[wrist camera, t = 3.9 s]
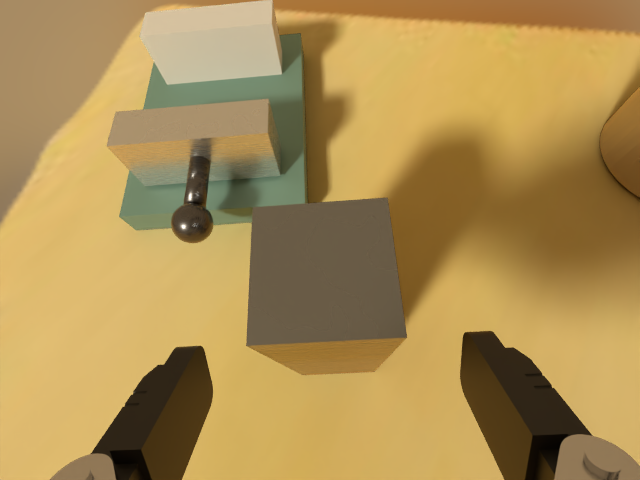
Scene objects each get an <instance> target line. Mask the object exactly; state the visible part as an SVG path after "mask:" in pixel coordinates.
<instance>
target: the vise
mask: <svg viewBox="0 0 640 480" xmlns="http://www.w3.org/2000/svg"><path fill="white" fill-rule="evenodd" d="M139 37H140V38H141V40H142V42H143V44H144V45H145V47H146V49H147V51H148V52H149V54H150V56H151V57H152V59H153V61H154V64H153V68H152V72H151V77H150V81H149V86H148V90H147V95H146V99H145V104H144V108H143V110H144V109H156V108H167V107H179V106H190V105H202V104H213V103H225V102H236V101H247V100H259V99H269V102H270V106H271V109H272V113H273V117H274V121H275V125H276V128H277V132H278V136H279V140H280V143H281V176H271V177H258V178H245V179H232V180H218V181H209V184H208V193H207V202H206V208H207V209H208V210H209V212H210V213H211V215H212V217H213V225H220V224H234V223H248V222H252V212H253V207H264V206H278V205H292V204H306V203H308V192H307V158H306V123H305V89H304V55H303V47H302V40H301V33H298V34H287V35H279V32H278V27H277V21H276V16H275V11H274V5H273V0H265V1H255V2H245V3H235V4H225V5H215V6H205V7H195V8H186V9H176V10H166V11H156V12H146V13H145V16H144V20H143V24H142V28H141V32H140V36H139ZM185 189H186V183H179V184H166V185H153V186H144V185H143V184H142V183H141V182H140V181H139V180H138V179H137V178H136V177H135V175H134V174H133V173H132V172H131V171H129V175H128V180H127V184H126V189H125V193H124V198H123V202H122V207H121V211H120V216H119V217H120V218H121V219H123V220H124V221H125V222H127V223H128V224H129V225H130V226H132V227H133V228H134V229H135V230H148V229H162V228H172V227H171V218H172V215H173V213H174V212H175V210H176V209H177V208H179V207H180V206H182V205H183V204H184V196H185Z"/></svg>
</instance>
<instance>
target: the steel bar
mask: <svg viewBox="0 0 640 480" xmlns="http://www.w3.org/2000/svg"><path fill="white" fill-rule="evenodd" d="M406 338H407V334H406V327H405V320H404V313H403V306H402V298H401V291H400V284H399V277H398V270H397V262H396V255H395V248H394V241H393V233H392V226H391V219H390V212H389V205H388V198H376V199H362V200H348V201H334V202H320V203H306V204H292V205H278V206H264V207H253V212H252V234H251V256H250V278H249V300H248V322H247V344H246V346H248V347H250V348H251V349H253V350H255V351H257V352H259V353H261V354H263V355H265V356H267V357H269V358H271V359H273V360H275V361H276V362H278V363H280V364H282V365H284V366H286V367H288V368H290V369H292V370H294V371H296V372H298V373H300V374H301V375H316V374H337V373H358V372H374V371H375V370H376V369H377V368H378V367H379V366H380V365H381V364H382V363H383V362H384V361H385V360H386V359H387V358H388V357H389V356H390V355H391V354H392V353H393V352H394V351H395V349H396V348H397V347H398V346H399V345H400V344H401V343H402V342H403V341H404V340H405V339H406Z"/></svg>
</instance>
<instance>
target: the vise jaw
mask: <svg viewBox="0 0 640 480" xmlns="http://www.w3.org/2000/svg"><path fill="white" fill-rule="evenodd" d="M107 147H108V148H109V149H110V150H111V151H112V152H113V153H114V155H115V156H116V157H117V158H118V159H119V160H120V161H121V162H122V163H123V164H124V165H125V166H126V167H127V168H128V169H129V170H130V171H131V172H132V173H133V174H134V175H135V177H136V178H137V179H138V180H139V181H140V182H141V183H142V184H143V185H144V186H153V185H166V184H179V183H186V189H185V196H184V204H183V205H182V206H180V207H179V208H177V209H176V210H175V212H174V213H173V215H172V218H171V227H172V230H173V232H174V234H175V235H176V236H177V237H178V238H179V239H180V240H182V241H184V242H187V243H198V242H201V241H203V240H205V239H206V238H207V237H208V236H209V235H210V234H211V232H212V229H213V217H212V215H211V213H210V212H209V210H208V209H207V208H206V202H207V193H208V184H209V181H218V180H232V179H245V178H258V177H271V176H281V143H280V140H279V136H278V132H277V128H276V125H275V121H274V117H273V113H272V109H271V106H270V102H269V99H259V100H247V101H236V102H225V103H213V104H202V105H190V106H179V107H167V108H156V109H144V110H133V111H121V112H116V113H115V117H114V120H113V124H112V128H111V132H110V135H109V139H108V143H107Z"/></svg>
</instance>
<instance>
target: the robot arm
mask: <svg viewBox="0 0 640 480" xmlns="http://www.w3.org/2000/svg"><path fill="white" fill-rule="evenodd" d="M600 149H601V153H602V158H603V160H604V161H605V163H606V165H607V167H608V169H609V171H610V172H611V173H612V174H613V175H614V177H615V178H616V179H617V180H618V181H619V182H620V183H621V184H622V185H623V186H624V187H625V188H627V189H628V190H629V191H630V192H631V193H633V194H635V195H636V196H638V197H639V198H640V87H639V88H638V89H637V90H636V91H635V92H634V93H633V94H632V95H631V96H630V97H629V99H628V100H627V101H626V102H625V103H624V104H623V105H622V106H621V107H620V108H619V109H618V110H617V111H616V112H615V114H614V115H613V116H612V117H611V118H610V119H609V120H608V122H607V123H606V124H605V125H604V127H603V130H602V132H601V135H600ZM460 379H461V385H462V389H463V393H464V395H465V397H466V400H467V402H468V404H469V406H470V408H471V410H472V412H473V414H474V416H475V419H476V421H477V423H478V425H479V427H480V429H481V431H482V433H483V435H484V437H485V440H486V442H487V444H488V446H489V448H490V450H491V452H492V454H493V456H494V458H495V461H496V463H497V465H498V467H499V469H500V471H501V473H502V475H503V477H504V480H640V466H639V465H638V464H637V462H636V461H635V460H634V459H633V458H632V457H631V456H630V455H628V454H627V453H626V452H625V451H623V450H622V449H620V448H619V447H617V446H616V445H614V444H612V443H610V442H608V441H606V440H603V439H601V438H598V437H594V436H592V435H591V433H590V432H589V431H588V430H587V428H586V427H585V426H584V425H583V423H582V422H581V421H580V420H579V419H578V417H577V416H576V415H575V414H574V412H573V411H572V410H571V409H570V407H569V406H568V405H567V404H566V402H565V401H564V400H563V399H562V397H561V396H560V395H559V394H558V393H557V391H556V390H555V389H554V388H552V385H551V384H550V383H549V381H548V380H547V379H546V378H545V376H542V373H541V371H540V370H539V369H538V368H537V367H536V365H535V364H534V363H533V362H532V360H531V359H530V358H528V357H527V356H525V355H524V354H522V353H521V352H519V351H518V350H516V349H515V348H505V347H504V346H503V344H502V343H501V342H500V340H499V339H498V338H497V336H496V335H495V334H494V333H493V332H492V331H480V332H465V333H464V335H463V342H462V356H461V369H460ZM212 397H213V386H212V381H211V377H210V372H209V368H208V364H207V360H206V355H205V351H204V349H203V347H202V346H189V347H176V348H175V349H174V350H173V352H172V353H171V355H170V356H169V358H168V359H167V361H166V363H165V364H164V365H158V366H156V367H155V368H154V369H153V370H152V371H150V372H149V373H148V374H147V375H146V376H144V377H143V379H142V380H141V381H140V383H139V384H138V386H137V387H136V389H135V390H134V392H133V395H131V396H130V397H129V399H128V400H127V402H126V403H125V407H123V408H122V409H121V411H120V412H119V414H118V415H117V416H116V418H115V419H114V421H113V422H112V424H111V425H110V427H109V428H108V430H107V431H106V432H105V434H104V435H103V437H102V438H101V440H100V441H99V443H98V444H97V446H96V447H95V448H94V450H93V451H92V453H91V454H90V455H86V456H83V457H81V458H78V459H76V460H74V461H73V462H71V463H69V464H68V465H66V466H65V467H63V468H62V469H61V470H59V471H58V472H57V473H56V474H55V475H54V476H53V477H52V478H51V479H50V480H182V478H183V475H184V473H185V470H186V467H187V465H188V462H189V460H190V457H191V455H192V452H193V450H194V447H195V445H196V442H197V440H198V437H199V434H200V432H201V429H202V427H203V424H204V422H205V419H206V417H207V414H208V412H209V409H210V406H211V403H212Z"/></svg>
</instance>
